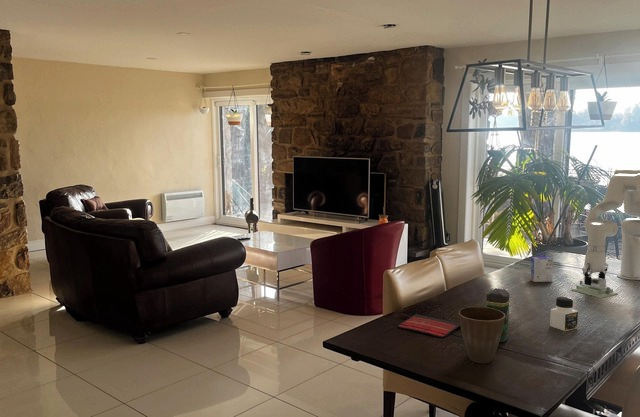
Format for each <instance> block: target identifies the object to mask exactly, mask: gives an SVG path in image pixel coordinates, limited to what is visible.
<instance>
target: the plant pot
mask: <svg viewBox="0 0 640 417" xmlns="http://www.w3.org/2000/svg"><path fill="white" fill-rule="evenodd" d="M458 317H459V324H460V326H461V328H460V331H461V335H462V340H463V344H464V346H465V351H466V353H467V356H468V358H469V360H470V361H472V362H473V363H476V364H489V363H491V362H492V360H494V359H493V358H494V357H495V355H496V352H497V349H498V346H499V344H500V342H499V341H500V338H501V334H502V330H503V326H504V320H505V314H504V313H503V312H501V311H499V310H497V309H493V308H487V307H486V306H468V307H463V308H461V309H460V310H458Z"/></svg>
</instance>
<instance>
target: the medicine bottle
mask: <svg viewBox="0 0 640 417" xmlns="http://www.w3.org/2000/svg"><path fill="white" fill-rule="evenodd" d="M549 317H550V319H549V321H550V322H549V327H551V328H554V329H557V330H559V331H562V332H568V331H572V330H577V329H578V320H579V319H578V318H579V311H578V310H577V309H574V299H573V298H571V297H569V296H564V295H563V296H557V298H555V307H554V308H551V309H550V316H549Z"/></svg>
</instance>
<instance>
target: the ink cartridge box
mask: <svg viewBox="0 0 640 417" xmlns="http://www.w3.org/2000/svg"><path fill="white" fill-rule="evenodd" d="M553 267H554V258H552V257H550V256H546V253H545V252H537V257H536V256H535V257H530V280H531V282H535V283H541V282H542V283H545V282H547V283H548V282H550V283H552V282H553V273H554V272H553V270H554V268H553Z"/></svg>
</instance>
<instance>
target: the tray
mask: <svg viewBox="0 0 640 417" xmlns="http://www.w3.org/2000/svg"><path fill="white" fill-rule="evenodd" d="M583 284H584V280H579V284H576V286H575V287H571V289H570V290H571V291H573V292H577V293H580V294H584V295H588V296H591V295H592V297H596V298H600V299H603V298H608V297H612V296H617V295H619V294H618V292H617V291H614V289H613V288H611V287H607V286H606V290H602V291H599V290H595V289H591V288H587V287H583Z"/></svg>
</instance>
